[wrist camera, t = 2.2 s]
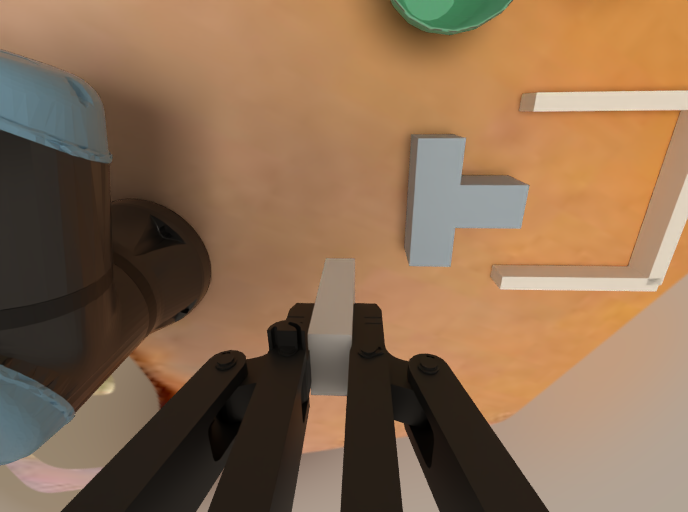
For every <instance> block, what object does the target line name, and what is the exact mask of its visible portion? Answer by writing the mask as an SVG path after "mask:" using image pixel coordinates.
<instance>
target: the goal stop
mask: <svg viewBox="0 0 688 512" xmlns="http://www.w3.org/2000/svg"><path fill="white" fill-rule="evenodd" d="M633 110H681V112H680V115H679V118H678V121H677V124H676V126H675V129H674V132H673V135H672V138H671V141H670V144H669V147H668V150H667V153H666V156H665V159H664V162H663V165H662V168H661V171H660V174H659V176H658V179H657V182H656V185H655V188H654V191H653V194H652V197H651V200H650V203H649V206H648V209H647V212H646V215H645V218H644V221H643V224H642V227H641V229H640V232H639V235H638V238H637V241H636V244H635V247H634V250H633V253H632V256H631V259H630V262H629V265H628V266H555V265H492V271H491V278H492V279H493V281H494V282H495V283H496V285H497V286H498V287H499V289H513V290H590V291H657V288H658V286H659V285H661V284H662V282H663V279H664V277H665V274H666V272H667V269H668V266H669V264H670V261H671V259H672V256H673V254H674V251H675V249H676V246H677V243H678V241H679V238H680V236H681V233H682V231H683V228H684V225H685V223H686V220H687V218H688V91H613V92H537V93H526V94H522V97H521V102H520V108H519V111H530V112H538V111H633Z"/></svg>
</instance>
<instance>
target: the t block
mask: <svg viewBox="0 0 688 512" xmlns="http://www.w3.org/2000/svg"><path fill="white" fill-rule="evenodd" d="M465 142H466V138H464V137H461V136H457V135H454V134H411V148H410V164H409V180H408V196H407V212H406V228H405V245H404V248H405V252H406V256H407V259H408V263H409V266H442V267H450V266H451V258H452V249H453V241H454V233H455V228H521V225H522V220H523V215H524V210H525V205H526V200H527V195H528V190H529V185H528V184H525V183H523V182H521V181H519V180H517V179H515V178H513V177H511V176H508V175H462V167H463V158H464V150H465Z"/></svg>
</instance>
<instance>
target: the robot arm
mask: <svg viewBox="0 0 688 512" xmlns="http://www.w3.org/2000/svg"><path fill="white" fill-rule="evenodd" d="M112 158H113V156H112V154H111V153H110V151H108V141H107V131H106V121H105V111H104V106H103V103H102V101H101V99H100V97H99V95H98V94H97V92H96V91H95V90H94V89H93V88H92V87H91V86H90V85H89V84H88V83H87V82H85V81H84V80H83V79H81V78H79V77H78V76H76V75H74V74H72V73H69V72H67V71H64V70H61V69H59V68H56V67H53V66H50V65H47V64H45V63H42V62H39V61H36V60H33V59H30V58H27V57H24V56H21V55H18V54H14V53H11V52H8V51H5V50H2V49H0V465H5V464H8V463H11V462H14V461H17V460H19V459H21V458H24V457H27V456H29V455H30V454H32V453H33V452H35V451H36V450H37V449H39V447H41V446H42V445H43V444H44V443H45V442H46V441H47V440H49V439H50V438H51V437H52V436H53V435H54V434H55V433H56V432H58V431H59V430H60V429H61V428H62V427H63V426H64V425H66V424H68V423H69V422H70V421H71V420H72V419H73V418H74V417H75V415H74V414H75V413H76V412H77V410H78V409H79V408H80V407H81V406H82V405H83V404H84V403H85V402H86V401H87V400H88V399H89V398H90V397H91V396H92V394H93V393H94V392H95V391H96V390H97V389H98V388H99V387H100V386H101V385H102V384H103V383H104V382H105V381H106V379H107V378H108V377H109V376H110V375H111V374H112V373H113V372H114V371H115V370H116V369H117V368H118V367H119V366H120V364H121V363H122V362H123V361H124V360H125V359H126V358H127V357H128V356H129V355H130V354H131V353H132V352H133V351H134V349H135V348H136V347H137V346H138V345H139V344H140V343H141V342H142V341H143V340H144V339H145V338H146V337H147V336H148V335H149V334H151V333H153V332H155V331H157V330H160V329H162V328H164V327H166V326H168V325H170V324H172V323H175V322H177V321H179V320H180V319H182V318H184V317H185V316H186V315H188V314H189V313H190V312H191V311H192V310H193V309H194V308H195V307H196V306H197V304H198V303H199V302H200V301H201V300H202V298H203V297H204V295H205V294H206V292H207V289H208V287H209V283H210V277H211V267H210V261H209V257H208V254H207V251H206V249H205V246H204V244H203V242H202V241H201V239H200V238H199V236H198V235H197V233H196V232H195V231H194V230H193V228H192V227H191V226H190V225H189V224H188V223H187V222H186V221H185V220H183V219H182V218H181V217H180V216H178V215H177V214H176V213H174V212H172V211H171V210H169V209H167V208H165V207H163V206H161V205H158V204H156V203H153V202H149V201H145V200H138V199H124V200H118V201H114V202H111V195H110V171H109V163H112ZM267 334H268V343H269V352H268V354H266V355H263V356H260V357H256V358H251V359H246V356H245V355H244V354H243V353H242V352H239V351H235V350H229V351H223V352H220V353H218V354H216V355H214V356H213V357H212V358H210V359H209V360H208V361H207V362H206V363H205V364H204V365H203V366H202V367H201V368H200V369H199V370H198V371H197V372H196V373H195V374H194V376H193V377H192V378H191V379H190V380H189V381H188V382H187V383H186V384H185V385H184V386H183V387H182V388H181V389H180V390H179V391H178V392H177V393H176V394H175V395H174V396H173V397H172V398H171V399H170V400H169V401H168V402H167V403H166V404H165V405H164V406H163V407H162V408H161V409H160V410H159V411H158V412H157V413H156V415H155V416H154V417H153V418H152V419H151V420H150V421H149V422H148V423H147V424H146V425H145V426H144V427H143V428H142V429H141V430H140V431H139V432H138V433H137V434H136V435H135V436H134V437H133V438H132V439H131V440H130V441H129V442H128V443H127V444H126V445H125V446H124V448H122V449H121V450H120V451H119V453H117V455H115V456H114V458H113V459H112V460H111V461H110V462H109V463H108V464H107V465H106V466H105V467H104V468H103V469H102V470H101V471H100V472H99V473H98V474H97V475H96V476H95V477H94V478H93V479H92V480H91V481H90V482H89V483H88V484H87V485H86V486H85V487H84V488H83V489H82V490H81V491H80V492H79V493H78V494H77V495H76V497H74V499H73V500H72V501H71V502H70V503H69V504H68V505H67V506H66V507H65V508H64V509H63V510H62V511H61V512H196V511H197V509H198V508H199V506H200V505H201V503H202V502H203V500H204V498H205V497H206V495H207V494H208V492H209V491H210V489H211V487H212V486H213V484H214V483H215V481H216V480H217V478H218V476H219V475H220V473H221V472H222V470H223V469H224V470H223V473H222V476H221V478H220V481H219V483H218V486H217V488H216V491H215V494H214V496H213V499H212V502H211V504H210V507H209V510H208V512H292V506H293V499H294V494H295V489H296V483H297V477H298V471H299V465H300V460H301V454H302V448H303V442H304V436H305V431H306V425H307V419H308V413H309V407H310V404H309V393H310V388H311V395H334V396H347V406H346V423H345V441H344V459H343V476H342V494H341V512H403V509H402V498H401V488H400V478H399V468H398V457H397V448H396V437H395V427H394V420H396V421H399V422H402V423H404V426H405V430H406V432H407V435H408V437H409V439H410V442H411V444H412V446H413V449H414V451H415V454H416V456H417V458H418V461H419V463H420V466H421V468H422V470H423V473H424V475H425V478H426V480H427V482H428V485H429V487H430V490H431V492H432V494H433V497H434V499H435V501H436V504H437V506H438V508H439V511H440V512H549V511H548V509H547V508H546V507H545V505H544V503H543V502H542V501H541V499H540V498H539V496H538V495H537V493H536V492H535V490H534V489H533V488H532V486H531V485H530V483H529V482H528V481H527V479H526V478H525V476H524V475H523V473H522V472H521V470H520V469H519V467H518V466H517V465H516V463H515V461H514V460H513V459H512V457H511V456H510V454H509V453H508V451H507V450H506V448H505V447H504V446H503V444H502V443H501V441H500V440H499V438H498V437H497V436H496V434H495V432H494V431H493V430H492V428H491V427H490V425H489V424H488V422H487V421H486V419H485V418H484V417H483V415H482V414H481V412H480V411H479V409H478V408H477V406H476V405H475V403H474V402H473V401H472V399H471V398H470V396H469V395H468V393H467V392H466V390H465V389H464V388H463V386H462V385H461V383H460V382H459V380H458V379H457V377H456V376H455V375H454V373H453V372H452V370H451V369H450V367H449V366H448V364H447V363H446V362H445V361H444V360H443V359H441V358H439V357H437V356H435V355H431V354H418V355H415V356H413V357H412V358H411V359H410V360H409V361H405V360H401V359H398V358H396V357H394V356H392V355H391V354H390V353H389V352H388V351H387V350H386V348H385V343H384V332H383V322H382V311H381V309H380V308H379V307H378V305H377V304H365V303H355V259H354V258H326V260H325V264H324V268H323V272H322V276H321V280H320V285H319V289H318V293H317V297H316V301H315V304H314V303H296V304H295V305H294V306H293V307H292V308H291V309H290V310H289V313H288V316H287V319H286V320H284V321H280V322H276V323H274V324H273V325H271V326H270V327H269V328H268V330H267Z"/></svg>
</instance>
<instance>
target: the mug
mask: <svg viewBox="0 0 688 512" xmlns="http://www.w3.org/2000/svg"><path fill="white" fill-rule="evenodd" d="M512 1H513V0H391V3H392V5H393V7H394V8H395V9H396V10H397V11H398V12H399V14H400V15H401V16H402V17H403V18H404V19H405V20H406V21H407V22H408V23H409V24H411V25H413V26H415V27H416V28H418V29H420V30H422V31H426V32H429V33H437V34H445V35H453V34H457V33H461V32H466V31H470V30H474V29H476V28H478V27H480V26H481V25H483V24H484V23H486V22H488V21H489V20H491V19H493V18H494V17H496V16H498V15H499V14H501V13H502V12H503V11H504V10H505V9H506V8H507V6H508V5H509V4H510V3H511V2H512Z"/></svg>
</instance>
